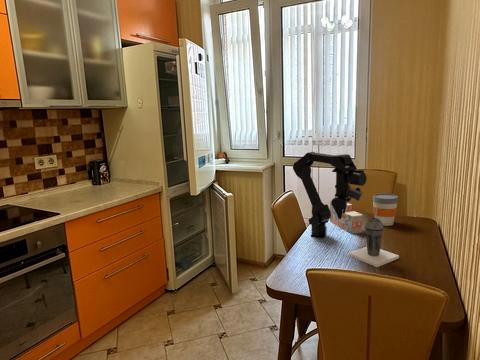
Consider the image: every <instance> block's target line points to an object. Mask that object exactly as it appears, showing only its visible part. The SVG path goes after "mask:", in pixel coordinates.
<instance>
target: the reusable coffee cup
mask: <svg viewBox="0 0 480 360" xmlns="http://www.w3.org/2000/svg"><path fill="white" fill-rule="evenodd" d="M372 203H373V205H372V211H373V215H374V216H375V215H376V207H378V209H377V219H379V220H380V221H381V222H382V223H383V227H389V226H393V225H394V220H395V217H396V215H397V210H398V203H399V196H398V195H396V194H393V193H374V194H373V195H372Z"/></svg>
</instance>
